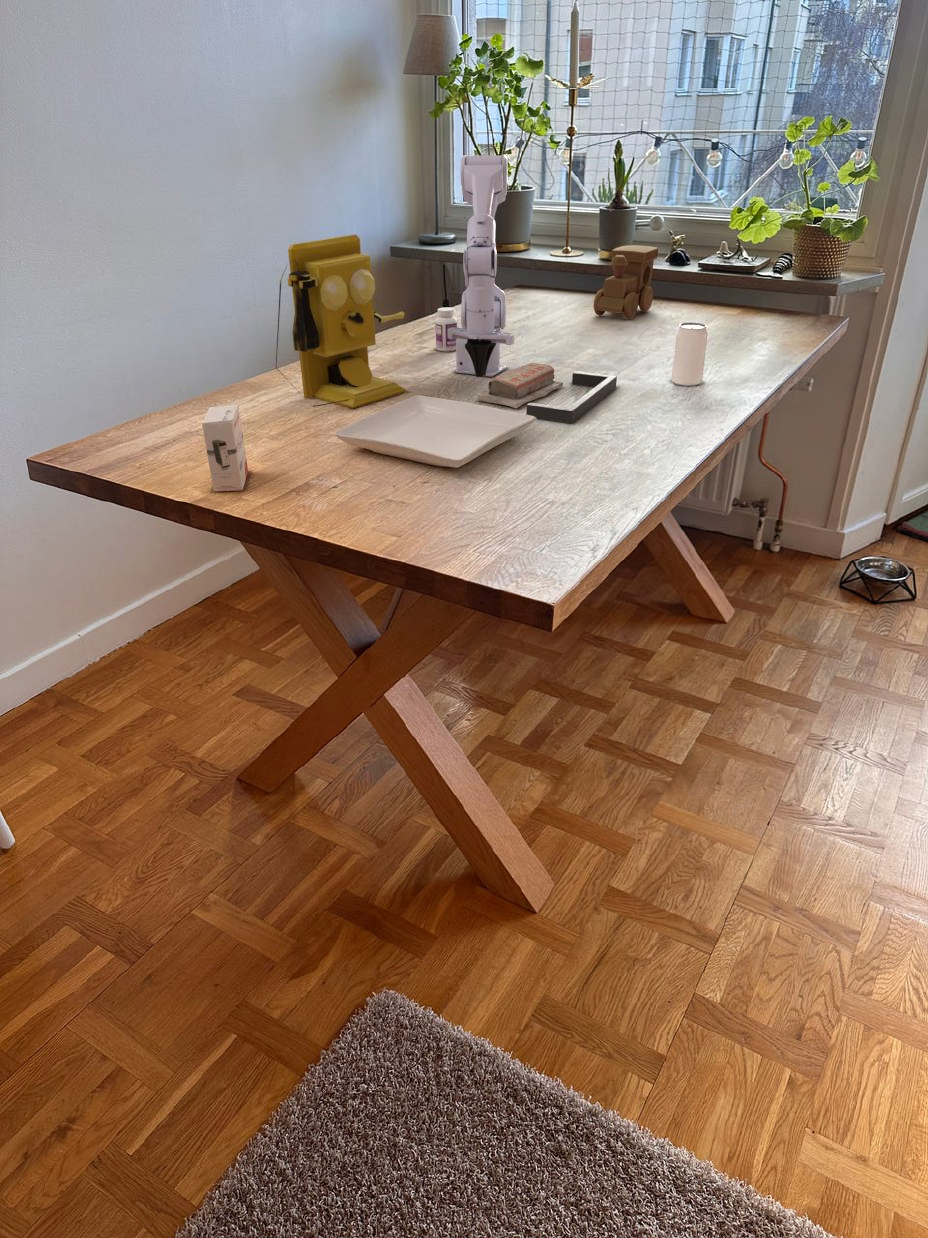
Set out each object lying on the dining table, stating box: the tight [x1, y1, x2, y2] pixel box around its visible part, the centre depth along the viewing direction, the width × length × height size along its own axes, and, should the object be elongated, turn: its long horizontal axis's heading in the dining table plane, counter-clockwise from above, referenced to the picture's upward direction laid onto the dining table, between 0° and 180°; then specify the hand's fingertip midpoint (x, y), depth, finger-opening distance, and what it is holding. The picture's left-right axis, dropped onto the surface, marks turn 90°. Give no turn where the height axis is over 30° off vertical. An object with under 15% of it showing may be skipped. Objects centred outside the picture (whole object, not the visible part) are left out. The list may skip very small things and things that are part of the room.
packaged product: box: [476, 362, 564, 409], centre depth 187 cm, size 18×5×10 cm
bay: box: [525, 370, 618, 424], centre depth 182 cm, size 10×26×2 cm, turn 153°
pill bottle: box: [434, 306, 458, 352], centre depth 219 cm, size 5×5×10 cm
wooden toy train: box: [593, 244, 659, 320], centre depth 248 cm, size 20×11×17 cm, turn 147°
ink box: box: [201, 404, 249, 492], centre depth 146 cm, size 9×5×12 cm, turn 5°
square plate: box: [332, 394, 537, 468], centre depth 162 cm, size 27×27×4 cm
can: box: [671, 321, 709, 387], centre depth 191 cm, size 6×6×12 cm
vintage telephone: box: [275, 234, 407, 410], centre depth 181 cm, size 31×14×30 cm, turn 137°
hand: (480, 375), depth 190 cm, fingers closed
